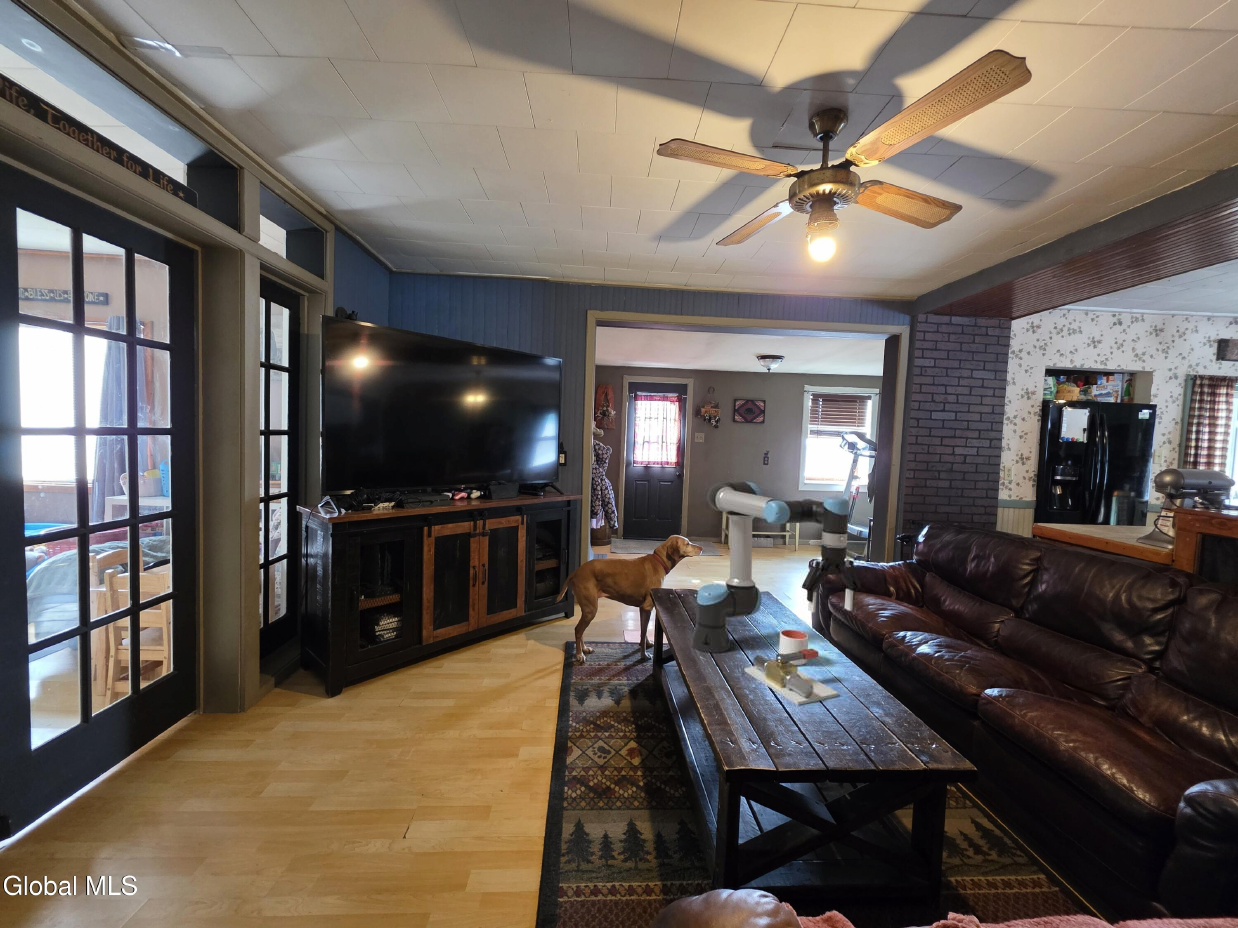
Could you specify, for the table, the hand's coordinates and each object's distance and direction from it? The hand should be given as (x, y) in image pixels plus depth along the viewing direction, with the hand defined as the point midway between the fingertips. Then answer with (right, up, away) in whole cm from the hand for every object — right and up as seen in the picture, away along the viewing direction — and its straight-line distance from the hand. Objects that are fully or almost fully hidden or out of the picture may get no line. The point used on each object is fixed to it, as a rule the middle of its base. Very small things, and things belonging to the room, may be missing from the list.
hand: (830, 610), depth 172 cm
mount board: (-11, -26, +7) cm, 29 cm away
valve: (-14, -26, +5) cm, 30 cm away
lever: (-8, -19, +8) cm, 22 cm away
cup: (-4, -26, +26) cm, 37 cm away
